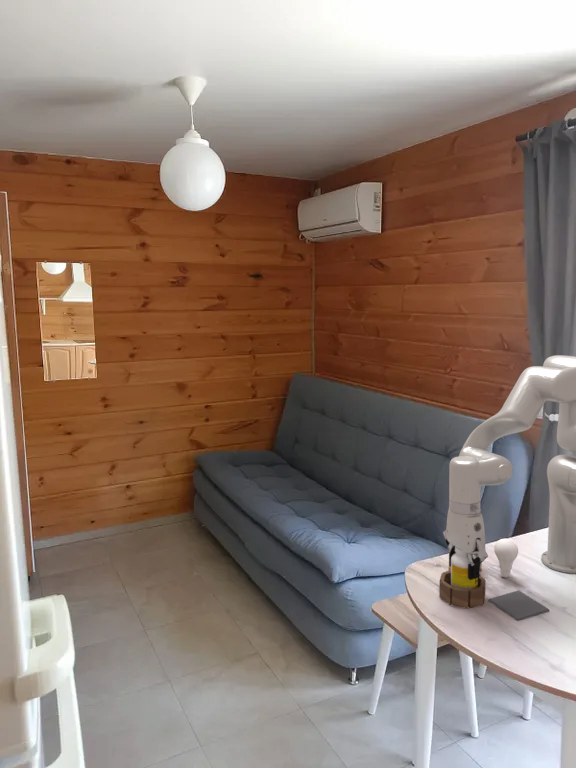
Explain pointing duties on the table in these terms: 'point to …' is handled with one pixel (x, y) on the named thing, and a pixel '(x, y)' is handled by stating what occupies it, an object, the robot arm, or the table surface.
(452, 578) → the supplement bottle
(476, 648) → the table surface
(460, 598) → the ring stand
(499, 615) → the table surface
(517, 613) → the mat
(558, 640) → the table surface
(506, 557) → the lightbulb
